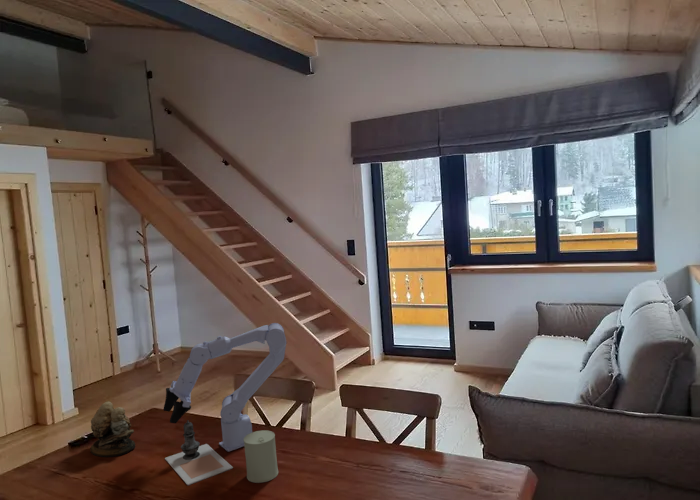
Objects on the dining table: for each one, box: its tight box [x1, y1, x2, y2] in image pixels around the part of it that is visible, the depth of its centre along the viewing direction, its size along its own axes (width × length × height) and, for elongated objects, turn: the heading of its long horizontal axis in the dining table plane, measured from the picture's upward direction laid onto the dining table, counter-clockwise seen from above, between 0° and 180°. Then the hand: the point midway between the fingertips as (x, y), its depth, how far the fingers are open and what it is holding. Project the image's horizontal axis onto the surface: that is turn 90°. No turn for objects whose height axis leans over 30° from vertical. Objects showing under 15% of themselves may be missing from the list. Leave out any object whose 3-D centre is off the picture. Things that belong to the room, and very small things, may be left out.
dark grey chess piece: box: [180, 419, 201, 460], centre depth 166 cm, size 6×6×12 cm
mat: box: [164, 443, 234, 486], centre depth 162 cm, size 14×22×1 cm, turn 36°
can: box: [243, 429, 279, 484], centre depth 151 cm, size 9×9×12 cm
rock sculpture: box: [89, 401, 137, 458], centre depth 177 cm, size 18×12×17 cm, turn 67°
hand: (169, 416), depth 169 cm, fingers open, 7 cm apart
